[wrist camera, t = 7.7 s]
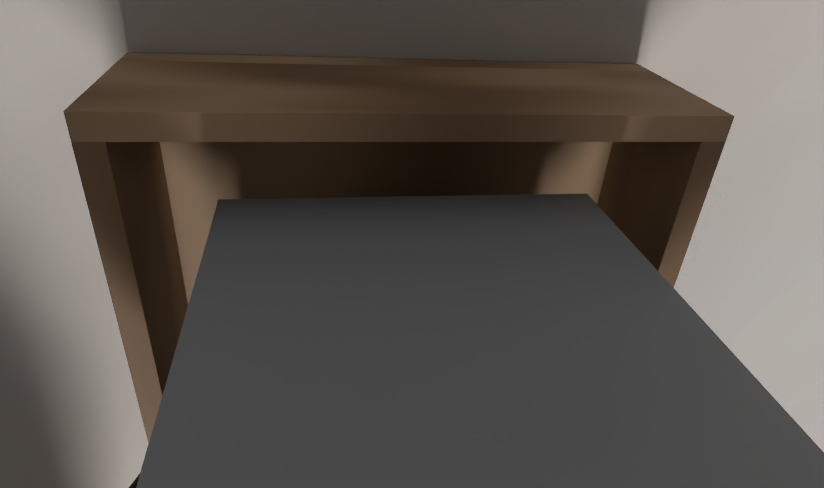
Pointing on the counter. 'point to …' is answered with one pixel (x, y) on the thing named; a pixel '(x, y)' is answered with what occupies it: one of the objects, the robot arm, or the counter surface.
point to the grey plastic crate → (454, 357)
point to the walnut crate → (365, 156)
